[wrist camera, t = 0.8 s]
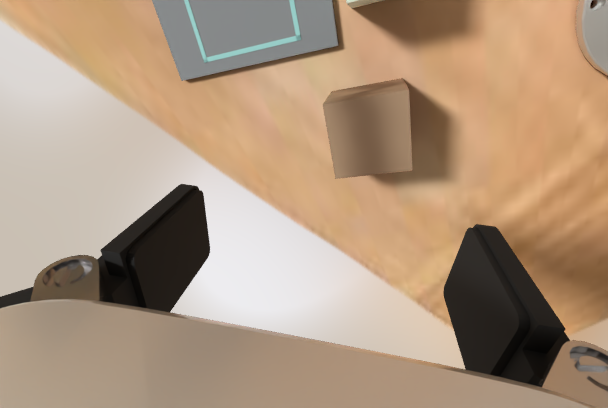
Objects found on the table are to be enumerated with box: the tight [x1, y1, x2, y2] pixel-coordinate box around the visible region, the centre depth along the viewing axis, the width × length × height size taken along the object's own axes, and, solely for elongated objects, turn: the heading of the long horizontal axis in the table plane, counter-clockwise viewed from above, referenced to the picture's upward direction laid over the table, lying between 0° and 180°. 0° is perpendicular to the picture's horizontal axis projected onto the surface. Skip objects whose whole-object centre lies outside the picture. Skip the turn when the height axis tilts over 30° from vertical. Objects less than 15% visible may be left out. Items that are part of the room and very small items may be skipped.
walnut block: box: [323, 78, 412, 179], centre depth 27 cm, size 6×6×6 cm
